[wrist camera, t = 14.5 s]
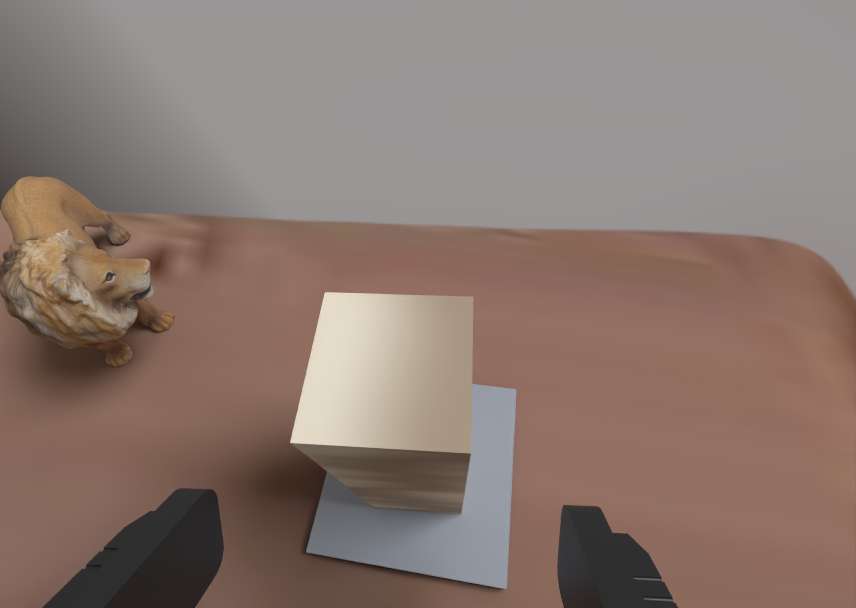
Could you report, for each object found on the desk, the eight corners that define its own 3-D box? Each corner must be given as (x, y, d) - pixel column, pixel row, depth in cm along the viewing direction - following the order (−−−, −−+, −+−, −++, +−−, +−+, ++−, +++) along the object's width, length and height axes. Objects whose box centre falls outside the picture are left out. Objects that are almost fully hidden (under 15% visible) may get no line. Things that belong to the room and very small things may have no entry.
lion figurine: (233, 347, 23) (123, 237, 15) (141, 419, 21) (-36, 334, 13) (116, 214, 29) (-6, 87, 21) (36, 261, 27) (-129, 140, 19)
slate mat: (309, 552, 18) (305, 552, 17) (356, 373, 22) (354, 368, 21) (504, 588, 17) (506, 589, 16) (514, 393, 21) (516, 389, 20)
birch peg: (375, 508, 18) (290, 442, 9) (385, 422, 20) (325, 292, 10) (461, 514, 18) (470, 453, 8) (463, 427, 19) (473, 296, 10)
